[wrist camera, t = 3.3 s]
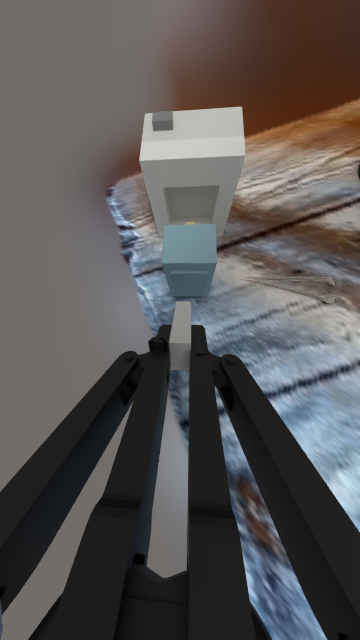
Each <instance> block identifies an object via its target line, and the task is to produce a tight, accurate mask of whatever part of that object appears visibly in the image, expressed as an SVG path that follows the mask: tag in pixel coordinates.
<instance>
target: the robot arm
mask: <svg viewBox="0 0 360 640" xmlns="http://www.w3.org/2000/svg"><path fill="white" fill-rule="evenodd" d="M359 174H360V167H359ZM148 343H149V349H150V352H148V353H145V354H141V355H138V354H137V353H136V352H134V351H128V352H125V353H123V354H121V355H120V356H119V358H117V360H116V361H115V362H114V363H113V364H112V365H111V366H110V368H109V369H108V370H107V371H106V372H105V374H104V375H103V376H102V377H101V378H100V379H99V380H98V381H97V382H96V384H95V385H94V386H93V387H92V388H91V389H90V391H88V393H87V394H86V395H85V396H84V397H83V398H82V400H81V401H80V402H79V403H78V404H77V405H76V406H75V407H74V409H73V410H72V411H71V412H70V413H69V414H68V415H67V417H66V418H65V419H64V420H63V421H62V422H61V423H60V425H59V426H58V427H57V428H56V429H55V430H54V431H53V433H52V434H51V435H50V436H49V437H48V438H47V439H46V441H45V442H44V443H43V444H42V445H41V446H40V447H39V448H38V450H37V451H36V452H35V453H34V454H33V455H32V456H31V458H30V459H29V460H28V461H27V462H26V463H25V464H24V466H23V467H22V468H21V469H20V470H19V471H18V472H17V473H16V475H15V476H14V477H13V478H12V479H11V480H10V481H9V483H8V484H7V485H6V486H5V487H4V488H3V490H2V491H1V492H0V638H1V635H2V628H3V624H2V614H3V613H4V612H5V610H6V609H7V608H8V606H9V605H10V604H11V602H12V601H13V600H14V598H15V597H16V596H17V594H18V593H19V592H20V590H21V589H22V587H23V586H24V585H25V583H26V582H27V580H28V579H29V577H30V576H31V574H32V573H33V571H34V570H35V568H36V567H37V565H38V564H39V562H40V560H41V559H42V557H43V555H44V554H45V552H46V551H47V549H48V547H49V546H50V544H51V543H52V541H53V539H54V537H55V536H56V533H57V532H58V530H59V529H60V527H61V525H62V523H63V522H64V520H65V518H66V517H67V515H68V513H69V511H70V510H71V508H72V506H73V504H74V503H75V501H76V499H77V497H78V496H79V494H80V492H81V490H82V489H83V487H84V485H85V483H86V482H87V480H88V478H89V477H90V475H91V473H92V471H93V470H94V468H95V466H96V464H97V463H98V461H99V459H100V458H101V456H102V454H103V452H104V451H105V449H106V447H107V445H108V444H109V442H110V440H111V439H112V437H113V435H114V433H115V432H116V430H117V428H118V426H119V425H120V423H121V421H122V420H123V418H124V416H125V414H126V413H127V411H128V409H129V407H130V406H131V404H132V402H133V404H132V408H131V411H130V414H129V417H128V420H127V423H126V426H125V429H124V432H123V436H122V439H121V442H120V445H119V448H118V451H117V454H116V457H115V460H114V463H113V466H112V470H111V473H110V476H109V479H108V482H107V485H106V488H105V491H104V494H103V495H102V497H101V499H100V500H99V502H98V503H97V504H96V505H95V507H94V509H93V511H92V513H91V515H90V518H89V520H88V523H87V525H86V528H85V531H84V534H83V536H82V540H81V542H80V545H79V548H78V551H77V554H76V557H75V559H74V562H73V565H72V568H71V571H70V574H69V577H68V580H67V583H66V586H65V588H64V591H63V593H62V594H61V596H60V597H59V598H58V599H57V601H56V602H55V603H54V604H53V606H52V607H51V608H50V610H49V611H48V613H47V614H46V616H45V617H44V618H43V620H42V621H41V622H40V624H39V625H38V627H37V628H36V629H35V631H34V632H33V634H32V635H31V636H30V638H29V639H28V640H272V638H271V636H270V634H269V632H268V630H267V628H266V626H265V624H264V623H263V621H262V619H261V618H260V616H259V614H258V613H257V611H256V609H255V608H254V607H253V605H252V604H251V602H250V600H249V594H248V587H247V581H246V574H245V568H244V561H243V555H242V548H241V542H240V536H239V531H238V526H237V522H236V519H235V516H234V513H233V510H232V506H231V500H230V494H229V487H228V480H227V473H226V465H225V458H224V451H223V444H222V437H221V430H220V423H219V416H218V409H217V402H216V395H215V388H214V386H216V387H217V390H218V392H219V395H220V397H221V399H222V402H223V404H224V407H225V409H226V411H227V414H228V416H229V418H230V421H231V423H232V426H233V428H234V430H235V433H236V435H237V437H238V440H239V442H240V445H241V447H242V449H243V452H244V454H245V456H246V459H247V461H248V464H249V466H250V468H251V471H252V473H253V475H254V478H255V480H256V483H257V485H258V487H259V490H260V492H261V494H262V497H263V499H264V502H265V504H266V506H267V509H268V511H269V513H270V516H271V518H272V520H273V523H274V525H275V528H276V530H277V532H278V535H279V537H280V539H281V542H282V544H283V547H284V549H285V551H286V554H287V556H288V558H289V561H290V563H291V566H292V568H293V570H294V573H295V575H296V577H297V579H298V581H299V584H300V586H301V588H302V590H303V592H304V595H305V597H306V599H307V601H308V603H309V605H310V607H311V609H312V611H313V613H314V615H315V617H316V619H317V621H318V623H319V625H320V626H321V628H322V630H323V632H324V634H325V636H326V638H327V640H360V532H359V531H358V529H357V528H356V527H355V525H354V524H353V522H352V521H351V519H350V518H349V516H348V515H347V513H346V512H345V511H344V509H343V508H342V506H341V505H340V503H339V502H338V500H337V499H336V497H335V496H334V495H333V493H332V492H331V490H330V489H329V487H328V486H327V484H326V483H325V482H324V480H323V479H322V477H321V476H320V474H319V473H318V471H317V470H316V468H315V467H314V466H313V464H312V463H311V461H310V460H309V458H308V457H307V455H306V454H305V452H304V451H303V450H302V448H301V447H300V445H299V444H298V442H297V441H296V439H295V438H294V436H293V435H292V434H291V432H290V431H289V429H288V428H287V426H286V425H285V423H284V422H283V421H282V419H281V418H280V416H279V415H278V413H277V412H276V410H275V409H274V407H273V406H272V405H271V403H270V402H269V400H268V399H267V397H266V396H265V394H264V393H263V391H262V390H261V389H260V387H259V386H258V384H257V383H256V381H255V380H254V378H253V377H252V376H251V374H250V373H249V371H248V370H247V368H246V367H245V365H244V364H243V362H242V361H241V360H240V359H239V358H238V357H237V356H235V355H232V354H226V355H223V356H222V357H218V356H215V355H213V354H211V353H210V352H209V350H208V348H207V341H206V333H205V328H204V327H203V326H202V325H191V302H187V301H177V302H176V307H175V313H174V318H173V323H172V325H162V326H161V327H160V328H159V331H158V334H157V336H156V337H153V338H151V339H150V340H149V342H148ZM170 368H171V370H185V371H190V377H189V457H188V527H187V528H188V529H187V530H188V531H187V570H186V571H184V572H181V573H179V574H176V575H174V576H171V577H168V578H162V577H161V576H159V575H158V574H156V573H155V572H153V571H152V570H150V569H149V568H148V567H146V566H147V558H148V551H149V543H150V534H151V519H152V518H151V517H152V507H153V500H154V492H155V485H156V477H157V470H158V462H159V455H160V447H161V440H162V432H163V425H164V418H165V410H166V403H167V395H168V388H169V381H170ZM133 400H134V401H133Z"/></svg>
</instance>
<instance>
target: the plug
mask: <svg viewBox="0 0 360 640" xmlns="http://www.w3.org/2000/svg"><path fill="white" fill-rule="evenodd" d="M216 264H217V251H216V224H195V222H186V225H164V238H163V253H162V265H163V269H164V272H165V275H166V279H167V282H168V285H169V288H170V292H171V295H172V296H181V297H207V294H208V290H209V287H210V284H211V280H212V277H213V274H214V270H215V267H216Z"/></svg>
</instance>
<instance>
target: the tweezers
mask: <svg viewBox="0 0 360 640" xmlns="http://www.w3.org/2000/svg"><path fill="white" fill-rule="evenodd" d="M245 278H252V279H271V280H290V281H305V282H326V283H328V284H330V285H331V286H335V283H334V281H333V279H332V278H331V277H327V276H326V277H311V276H303V277H263V278H261V277H245ZM316 278H319V279H316ZM241 280H244V279H241ZM245 281H250V282H255V283H260V284H264V285H269V286H273V287H277V288H281V289H284V290H288V291H292V292H296V293H300V294H303V295H306V296H309V297H312V298H315V299H318V300H321V301H323V302H326V303H329V304H333V303H334V300H335V296H333V297H329V298H327V299H326V297H322V296H320V295H316V294H313V293H309V292H305V291H301V290H297V289H293V288H289V287H284V286H280V285H276V284H270V283H265V282H258V281H252V280H245Z"/></svg>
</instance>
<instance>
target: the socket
mask: <svg viewBox="0 0 360 640" xmlns="http://www.w3.org/2000/svg"><path fill="white" fill-rule="evenodd" d="M244 159H245V143H244V130H243V118H242V107H231V108H217V109H203V110H190V111H176V112H173V111H164V112H153V113H148V114H145V120H144V129H143V136H142V145H141V153H140V160H139V161H140V165H141V168H142V173H143V176H144V180H145V184H146V188H147V192H148V196H149V200H150V203H151V207H152V211H153V215H154V219H155V223H156V227H157V230H158V234H159V238H164V225H186V222H195V224H216V237H223V233H224V230H225V226H226V223H227V219H228V216H229V212H230V208H231V205H232V201H233V198H234V194H235V191H236V187H237V184H238V180H239V177H240V173H241V169H242V166H243V162H244Z"/></svg>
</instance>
